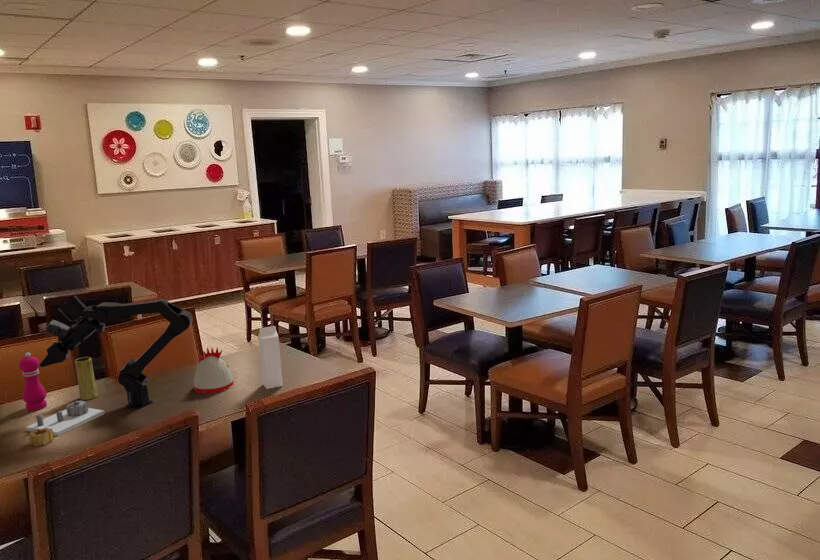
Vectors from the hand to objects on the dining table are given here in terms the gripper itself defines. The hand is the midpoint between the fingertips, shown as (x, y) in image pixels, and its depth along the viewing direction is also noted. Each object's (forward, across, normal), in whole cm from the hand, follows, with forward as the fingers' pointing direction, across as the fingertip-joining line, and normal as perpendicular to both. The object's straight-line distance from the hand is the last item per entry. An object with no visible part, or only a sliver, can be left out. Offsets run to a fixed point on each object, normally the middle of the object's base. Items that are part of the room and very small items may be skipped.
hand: (44, 361), depth 214 cm
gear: (+7, +25, +16) cm, 31 cm away
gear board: (+5, +11, +18) cm, 22 cm away
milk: (-48, -1, +58) cm, 75 cm away
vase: (+5, -11, +20) cm, 24 cm away
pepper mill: (+18, -7, +11) cm, 22 cm away
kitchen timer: (-30, -7, +46) cm, 56 cm away
